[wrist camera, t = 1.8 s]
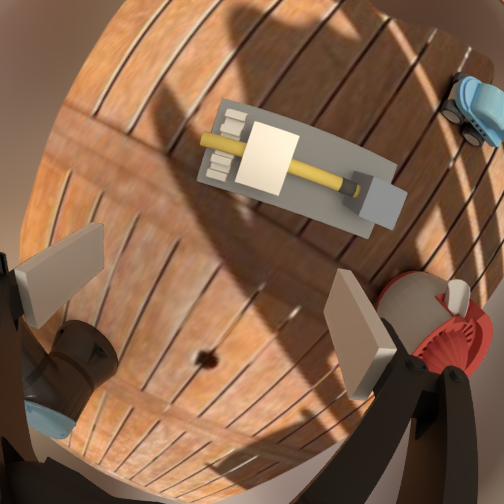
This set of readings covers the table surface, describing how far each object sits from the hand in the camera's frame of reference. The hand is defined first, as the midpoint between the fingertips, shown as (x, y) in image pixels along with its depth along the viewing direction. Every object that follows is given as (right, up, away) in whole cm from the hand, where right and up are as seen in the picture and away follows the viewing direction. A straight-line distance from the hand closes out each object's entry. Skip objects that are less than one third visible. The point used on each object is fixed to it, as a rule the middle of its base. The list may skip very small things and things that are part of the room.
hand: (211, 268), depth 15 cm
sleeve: (+4, +13, +21) cm, 25 cm away
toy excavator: (+39, +23, +18) cm, 48 cm away
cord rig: (+9, +12, +22) cm, 27 cm away
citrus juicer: (+29, -7, +29) cm, 41 cm away
